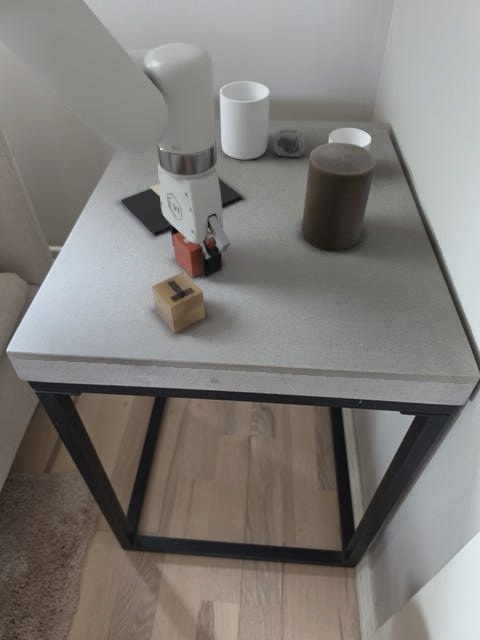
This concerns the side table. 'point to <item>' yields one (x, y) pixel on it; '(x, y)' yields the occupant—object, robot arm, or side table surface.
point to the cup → (351, 137)
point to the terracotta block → (189, 253)
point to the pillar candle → (337, 195)
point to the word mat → (150, 210)
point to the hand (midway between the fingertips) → (197, 257)
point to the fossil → (289, 143)
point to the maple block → (179, 301)
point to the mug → (244, 119)
